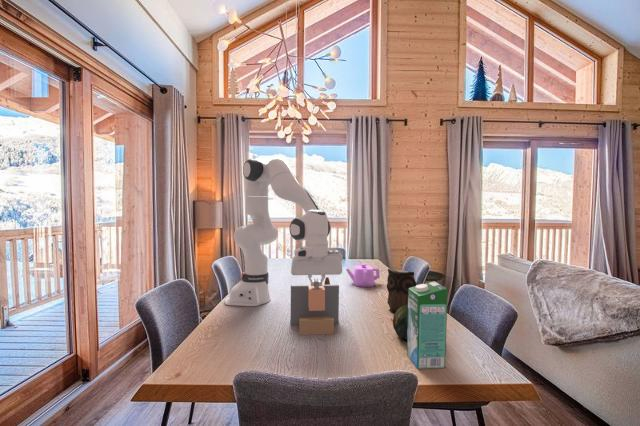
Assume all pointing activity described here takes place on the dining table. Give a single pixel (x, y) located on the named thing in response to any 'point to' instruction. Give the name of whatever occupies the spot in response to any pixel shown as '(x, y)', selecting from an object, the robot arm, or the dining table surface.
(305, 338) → the dining table surface
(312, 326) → the board
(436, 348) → the milk carton
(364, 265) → the teakettle
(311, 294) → the tall peach box
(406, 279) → the owl
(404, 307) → the squash
